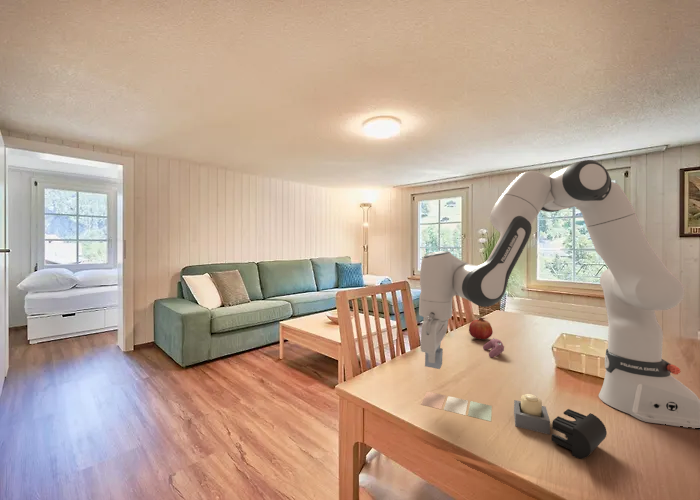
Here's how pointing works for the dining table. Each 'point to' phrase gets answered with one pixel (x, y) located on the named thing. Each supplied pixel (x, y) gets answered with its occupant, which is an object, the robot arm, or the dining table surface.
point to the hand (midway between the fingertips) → (434, 358)
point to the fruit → (480, 329)
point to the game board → (458, 405)
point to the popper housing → (531, 419)
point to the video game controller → (494, 347)
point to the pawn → (438, 359)
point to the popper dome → (531, 405)
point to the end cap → (579, 433)
